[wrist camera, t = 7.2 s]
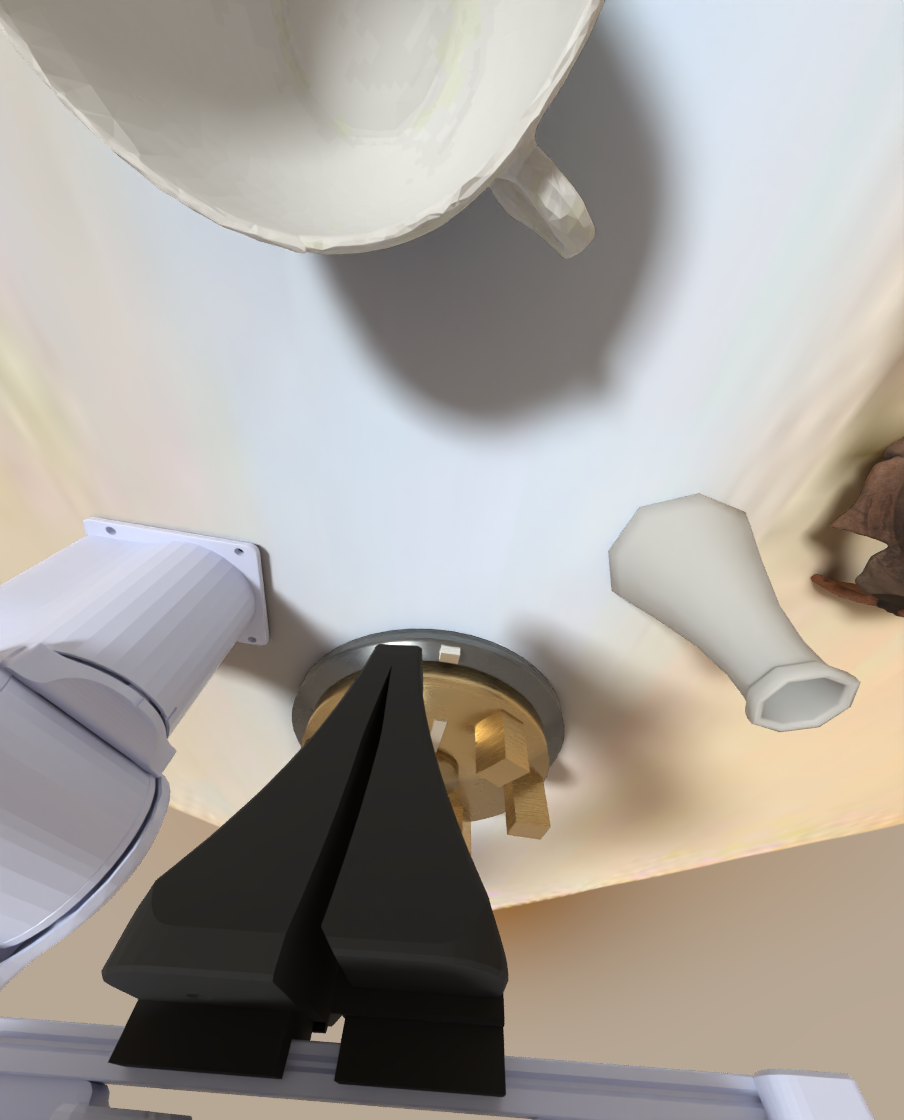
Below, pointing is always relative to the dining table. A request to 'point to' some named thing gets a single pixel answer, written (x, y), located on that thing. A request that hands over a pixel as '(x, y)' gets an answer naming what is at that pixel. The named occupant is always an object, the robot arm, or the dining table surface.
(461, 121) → the teacup
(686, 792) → the dining table surface
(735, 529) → the flask
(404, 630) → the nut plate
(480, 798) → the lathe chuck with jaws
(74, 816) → the robot arm
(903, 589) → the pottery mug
